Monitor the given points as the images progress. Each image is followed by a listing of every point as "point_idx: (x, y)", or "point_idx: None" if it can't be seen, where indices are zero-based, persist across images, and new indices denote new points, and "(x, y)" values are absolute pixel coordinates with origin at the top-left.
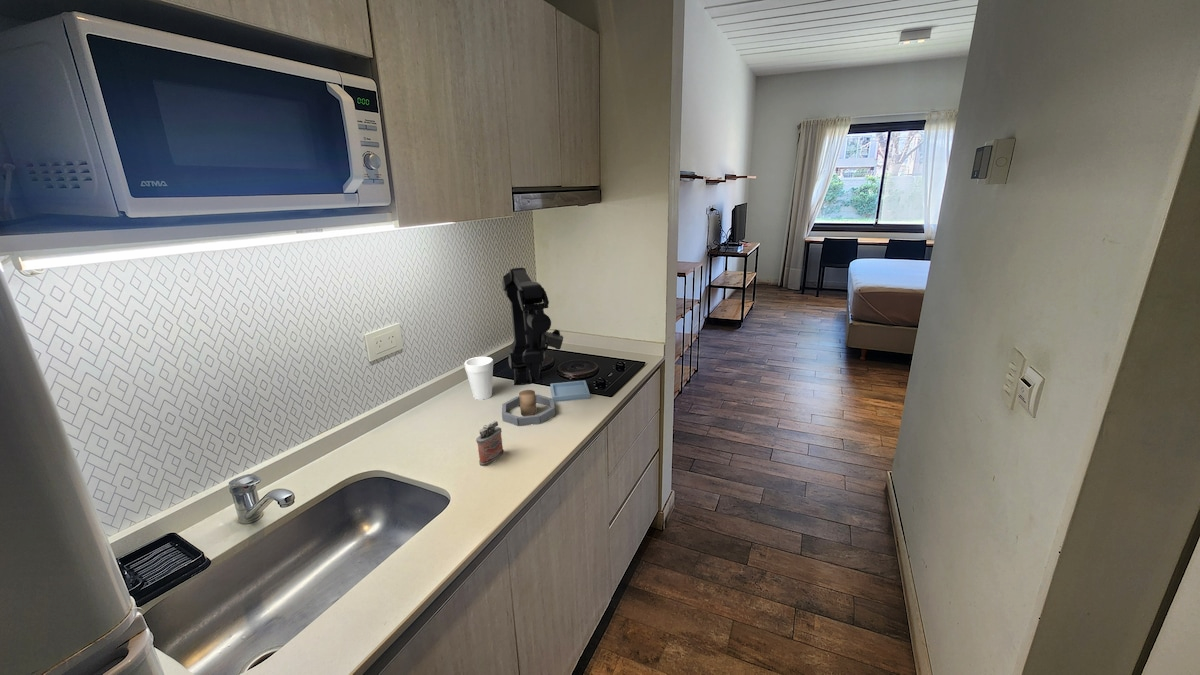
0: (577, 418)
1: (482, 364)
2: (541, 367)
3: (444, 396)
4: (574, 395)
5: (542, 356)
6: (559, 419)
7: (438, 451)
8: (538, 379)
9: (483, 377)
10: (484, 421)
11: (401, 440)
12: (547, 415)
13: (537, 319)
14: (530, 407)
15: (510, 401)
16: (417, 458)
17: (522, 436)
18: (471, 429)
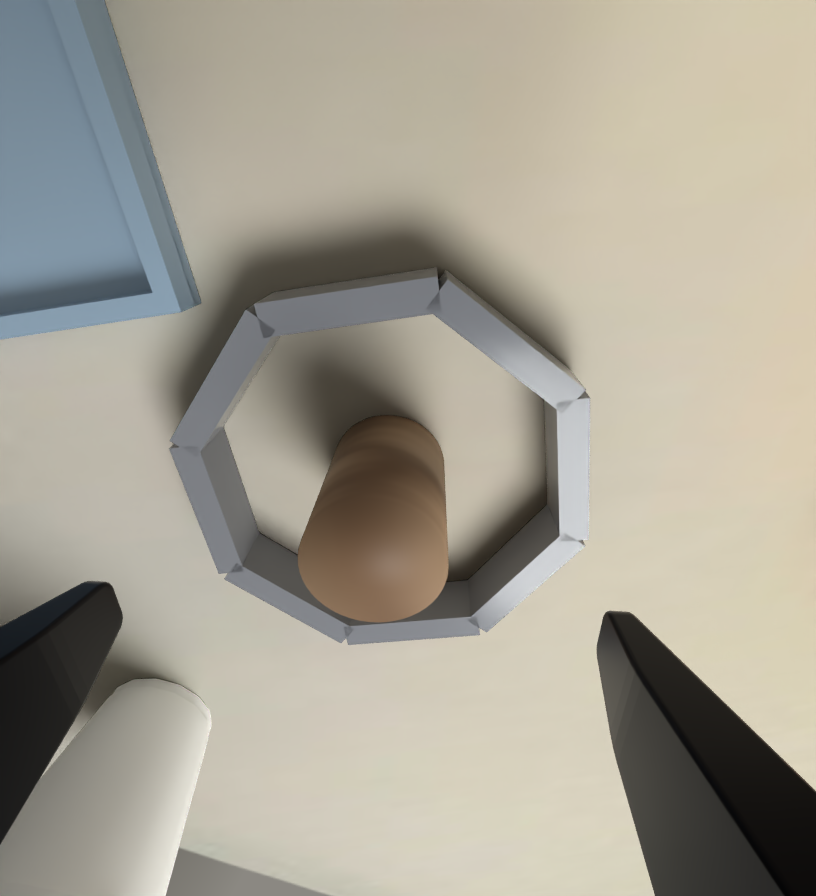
0: (542, 24)
1: None
2: (82, 606)
3: (187, 834)
4: (100, 68)
5: None
6: (529, 220)
7: None
8: (628, 613)
9: (141, 859)
10: (473, 672)
11: (587, 882)
12: (516, 331)
13: None
14: (440, 480)
15: (306, 607)
16: None
17: (725, 472)
18: (553, 710)
